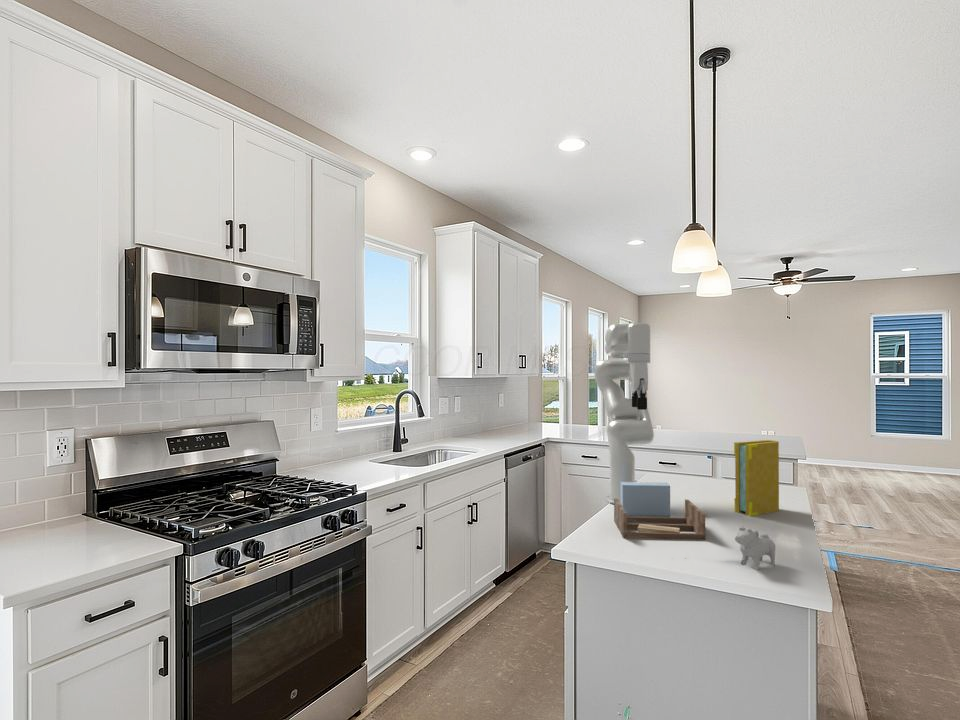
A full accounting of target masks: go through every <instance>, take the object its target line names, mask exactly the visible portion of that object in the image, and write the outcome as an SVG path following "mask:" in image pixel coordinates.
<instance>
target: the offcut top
mask: <svg viewBox="0 0 960 720" xmlns="http://www.w3.org/2000/svg"><path fill="white" fill-rule="evenodd" d="M638 524H639V526H638V530H637V532H654V533H681V531H680V528H674V527H665V526H655V525H646V524H647V523H638Z"/></svg>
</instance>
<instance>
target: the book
mask: <svg viewBox="0 0 960 720" xmlns="http://www.w3.org/2000/svg"><path fill="white" fill-rule="evenodd" d="M779 443H780V442H779V441H778V440H771V439H769V440H768V439H763V440H762V439H760V440H751V441H749V440H748V441H738V442H737V441H736V442H733V448H734V449H733V452H734V453H733V454H734V457H735V458H734V459H735V463H734V465H735V478H734V479H735V481H734V482H735V498H734V512H735V513H738V514H740V512H741V513H745V516H748V515H749V517H754V516H758V515H761V514H763V515H764V514H768V513H776V512H779V511H780V481H779V480H780V478H779V477H780V464H779V463H780V462H779V461H780V460H779V459H780V458H779V457H780V455H779V453H780V452H779V450H780V448H779V447H780V446H779ZM753 515H754V516H753Z"/></svg>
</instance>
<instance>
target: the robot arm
mask: <svg viewBox="0 0 960 720" xmlns="http://www.w3.org/2000/svg"><path fill="white" fill-rule="evenodd" d="M604 340H605V345H604V350H605V353H606V355H607V356H609V357H610V358H613V359H604V360H600V361H597V362H596V363H595V366H594V371H593V372H594V379H595V383H596V385H597V387H598V389H599V391H600V393H601V394H602V397H603V402H604V407H605V411H606V416H607V417H608V420H610V422H609V423H608V424H607V427H606V434H607V440H608V452H609V454H608V455H609V458H608V459H609V460H608V461H609V495H607V496H605V501H606V502H607V503H610V504H612V505H614V498H617V499H618V500H619V502H620V482H636V479H635V478H636V474H635V471H636V470H635V468H636V467H635V464H636V463H635V455H634V453H633V451H632V450H631V449H630V448H629V446H630V445H631V446H632V445H635V446H636V445H650V444H651V443H652V442H653V441H654V435H655V433H654V432H655V431H654V427H653V423H652V419H651V417H650V412H649V409H648V393H647V391H648V390H649V367H648V364H650V363H651V326H650V324H648V323H646V322H635V323H634V322H633V323H625V324H624V323H618V324H617V323H615V324H611V325H610V326H609V327H608V328H607V329H606V331H605V337H604ZM613 380H614V381H613ZM617 380H618V381H619V380H620V381H624V380H625V381H627V380H628V390H629V391H630V392H631V398H627V397H625V391H624V390H623V388H622V387H621V386H620V385H619V384H618V383H616V382H615V381H617ZM612 502H613V503H612Z"/></svg>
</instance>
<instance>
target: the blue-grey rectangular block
mask: <svg viewBox="0 0 960 720" xmlns="http://www.w3.org/2000/svg"><path fill="white" fill-rule="evenodd" d="M620 504H621V505H622V507H623V508H624V510H625V511H626V513H627V517H671V484H669V483H668V482H651V481H650V482H648V481H647V482H646V481H644V482H642V481H641V482H639V481H635V482H620Z"/></svg>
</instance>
